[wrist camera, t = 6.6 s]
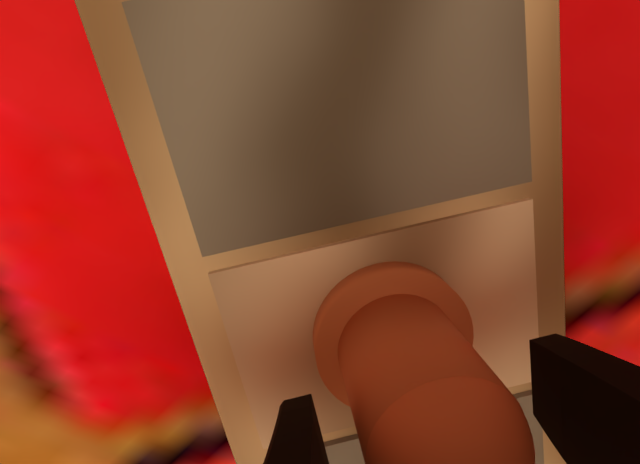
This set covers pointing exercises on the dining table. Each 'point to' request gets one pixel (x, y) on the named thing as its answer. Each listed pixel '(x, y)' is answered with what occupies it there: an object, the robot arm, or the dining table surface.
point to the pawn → (415, 372)
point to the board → (341, 176)
